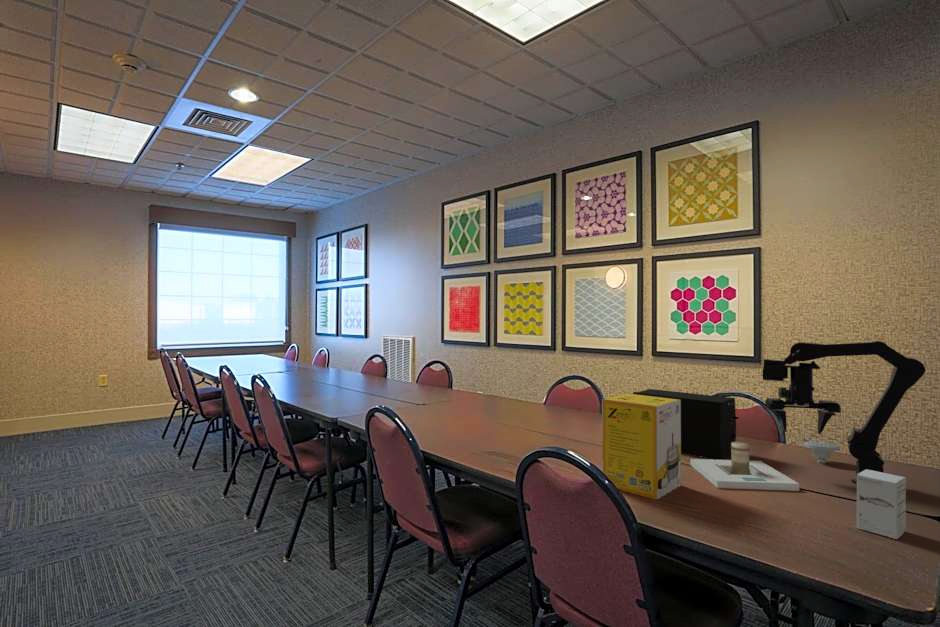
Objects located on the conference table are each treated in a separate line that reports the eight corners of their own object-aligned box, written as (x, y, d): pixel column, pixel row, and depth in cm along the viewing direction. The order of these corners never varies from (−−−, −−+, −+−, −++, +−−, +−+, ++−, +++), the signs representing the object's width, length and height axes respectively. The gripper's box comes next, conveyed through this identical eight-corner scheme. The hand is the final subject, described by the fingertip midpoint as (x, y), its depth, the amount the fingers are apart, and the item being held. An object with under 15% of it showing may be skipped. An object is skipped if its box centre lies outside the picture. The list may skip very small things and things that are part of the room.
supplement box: (855, 528, 110) (854, 473, 110) (866, 521, 114) (865, 468, 115) (897, 541, 104) (896, 482, 104) (907, 532, 108) (906, 476, 109)
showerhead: (803, 435, 169) (838, 440, 163) (803, 456, 169) (839, 461, 163) (801, 441, 161) (839, 445, 155) (802, 462, 161) (839, 468, 155)
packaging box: (628, 472, 151) (628, 393, 151) (681, 485, 139) (680, 399, 139) (602, 485, 139) (601, 399, 140) (656, 500, 128) (656, 406, 128)
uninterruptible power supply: (651, 437, 197) (650, 388, 197) (741, 453, 173) (740, 398, 173) (631, 444, 186) (631, 392, 186) (725, 462, 161) (725, 403, 162)
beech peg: (752, 479, 145) (752, 446, 145) (736, 478, 145) (735, 445, 145) (744, 474, 149) (744, 441, 150) (728, 473, 150) (728, 441, 150)
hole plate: (799, 490, 135) (799, 483, 135) (717, 487, 137) (717, 480, 137) (760, 467, 156) (760, 460, 157) (690, 464, 159) (690, 458, 159)
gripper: (825, 380, 154) (826, 429, 154) (760, 378, 159) (760, 425, 159) (841, 385, 143) (841, 437, 143) (770, 382, 149) (770, 433, 149)
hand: (801, 432), depth 149 cm, fingers open, 9 cm apart
